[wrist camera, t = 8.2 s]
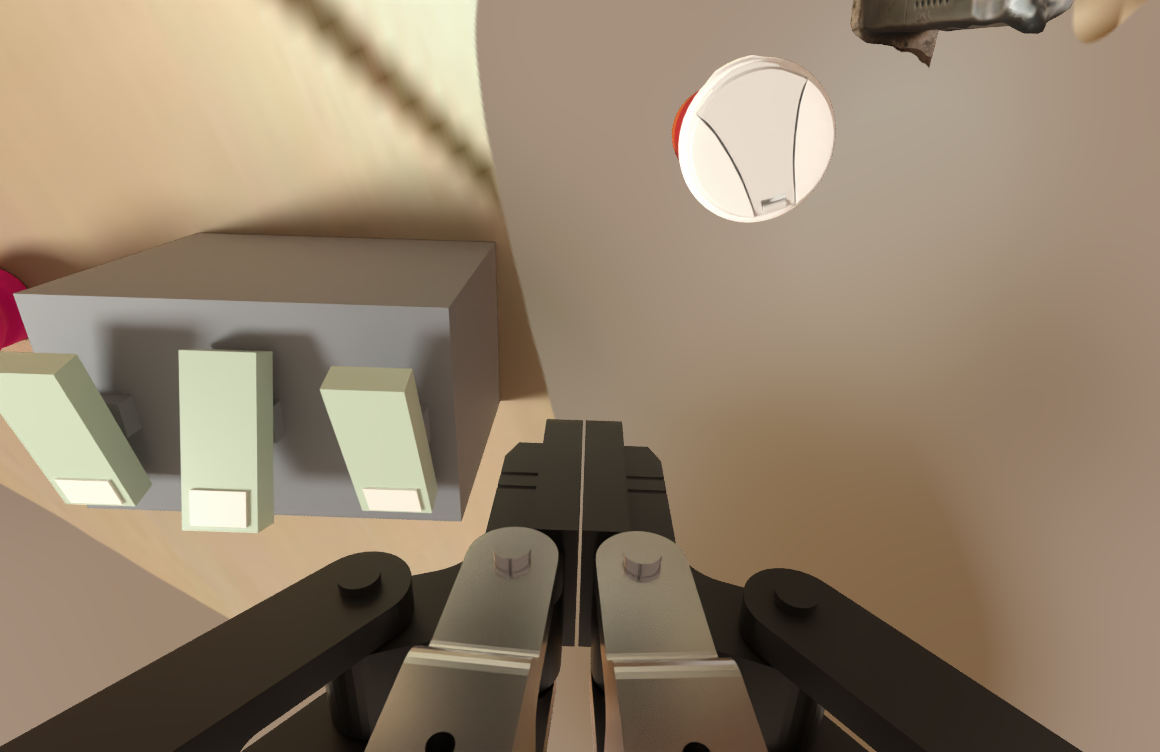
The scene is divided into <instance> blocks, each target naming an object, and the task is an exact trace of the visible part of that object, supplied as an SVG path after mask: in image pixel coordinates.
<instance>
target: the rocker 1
mask: <svg viewBox="0 0 1160 752" xmlns="http://www.w3.org/2000/svg"><path fill="white" fill-rule="evenodd" d="M0 413H1V415H2V416H3V418H4V419H5V420H6V422H7V423H8V425H9V426H10V427H11V429H12V430H13V431H14V433H15V434H16V436H17V437H18V438H19V440H20V441H21V442H22V444H23V445H24V447H25V448H26V449H27V451H28V452H29V453H30V455H31V456H32V458H33V459H34V460H35V462H36V463H37V464H38V466H39V467H40V469H41V470H42V471H43V473H44V474H45V476H46V477H47V478H48V480H49V481H50V482H51V484H52V485H53V487H54V488H55V489H56V491H57V492H58V493H59V495H60V496H61V498H62V499H63V500H64V502H65V503H66V504H80V505H108V506H135V507H136V506H137V504H138V503H139V502H140V500H141V499H142V498H143V496H144V495H145V494H146V492H147V491H148V490H149V488H150V487H151V486H152V485H153V484H152V482H151V481H150V479H149V477H148V476H147V474H146V472H145V470H144V469H143V467H142V465H141V463H140V462H139V460H138V458H137V457H136V455H135V453H134V451H133V450H132V448H131V446H130V445H129V443H128V441H127V439H126V438H125V436H124V434H123V433H122V431H121V429H120V427H119V426H118V424H117V422H116V420H115V419H114V417H113V415H112V414H111V412H110V410H109V408H108V407H107V405H106V403H105V402H104V400H103V398H102V396H101V395H100V393H99V391H98V390H97V388H96V386H95V384H94V383H93V381H92V379H91V377H90V376H89V374H88V372H87V371H86V369H85V367H84V365H83V364H82V362H81V360H80V359H79V357H78V355H77V354H61V353H31V352H1V351H0Z"/></svg>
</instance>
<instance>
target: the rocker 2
mask: <svg viewBox="0 0 1160 752" xmlns="http://www.w3.org/2000/svg"><path fill="white" fill-rule="evenodd" d="M178 351H179V401H180V450H181V500H182V530H190V531H217V532H244V533H259V532H260V531H262V530H263V529H265V528H266V527H268V526H270V525H271V524H273V523H274V477H273V351H251V350H221V349H187V350H178Z"/></svg>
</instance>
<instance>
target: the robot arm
mask: <svg viewBox="0 0 1160 752" xmlns="http://www.w3.org/2000/svg"><path fill="white" fill-rule="evenodd" d="M582 426H583V421H582V420H557V419H547V421H546V428H545V434H544V441H543V443H520V442H519V443H518V444H517V445H516V446H515V447H514V448H513V449H512V450H511V451H510V452H509V453H508V454H507V455H506V456H505V459H504V463H503V467H502V471H501V475H500V479H499V483H498V488H497V490H496V494H495V498H494V502H493V506H492V510H491V514H490V518H489V522H488V525H487V529H486V533H485V534H484V535H482V536H480V537H479V538H478V539H476V540H475V541H474V542H473V543H472V544H471V546H470V547H469V549H468V551H467V553H466V556H465V558H464V561H463V562H461V563H459V564H457V565H455V566H452V567H449V568H446V569H443V570H439V571H434V572H429V573H424V574H419V575H413V576H411V571H410V568H409V567H408V565H407V564H406V563H405V562H404V561H403V560H402V559H401V558H399V557H397V556H395V555H392V554H389V553H384V552H362V553H357V554H353V555H349V556H346V557H343V558H341V559H339V560H337V561H335V562H333V563H331V564H329V565H327V566H325V567H324V568H322V569H320V570H318V571H316V572H315V573H313V574H311V575H309V576H307V577H306V578H304V579H302V580H300V581H298V582H297V583H295V584H293V585H291V586H289V587H288V588H286V589H284V590H282V591H280V592H278V593H277V594H275V595H273V596H271V597H269V598H268V599H266V600H264V601H262V602H260V603H259V604H257V605H255V606H253V607H251V608H250V609H248V610H246V611H244V612H242V613H241V614H239V615H237V616H235V617H233V618H232V619H230V620H228V621H226V622H224V623H223V624H221V625H219V626H217V627H216V628H213V629H212V630H210V631H208V632H207V633H204V634H203V635H201V636H199V637H197V638H195V639H194V640H192V641H190V642H188V643H186V644H185V645H183V646H181V647H179V648H177V649H176V650H174V651H172V652H170V653H168V654H167V655H165V656H163V657H161V658H159V659H158V660H156V661H154V662H152V663H150V664H149V665H147V666H145V667H143V668H141V669H140V670H138V671H136V672H134V673H132V674H131V675H129V676H127V677H125V678H123V679H121V680H120V681H118V682H116V683H115V684H112V685H111V686H109V687H107V688H105V689H103V690H102V691H100V692H98V693H96V694H94V695H93V696H91V697H89V698H87V699H85V700H84V701H82V702H80V703H78V704H76V705H74V706H73V707H71V708H69V709H67V710H65V711H64V712H62V713H60V714H58V715H56V716H55V717H53V718H51V719H49V720H47V721H46V722H44V723H42V724H40V725H38V726H37V727H35V728H33V729H31V730H30V731H28V732H26V733H24V734H22V735H20V736H19V737H17V738H15V739H13V740H11V741H9V742H8V743H6V744H4V745H2V746H1V747H0V752H240V751H241V750H242V748H243V747H244V745H245V744H246V743H247V742H248V741H249V740H250V739H251V738H252V737H253V736H254V735H255V734H256V733H258V732H259V731H261V730H262V729H263V728H265V727H266V726H268V725H269V724H270V723H272V722H273V721H275V720H276V719H278V718H279V717H281V716H282V715H283V714H285V713H286V712H288V711H289V710H291V709H292V708H293V707H295V706H296V705H298V704H299V703H301V702H302V701H303V700H305V699H306V698H307V697H309V696H311V695H312V694H313V693H315V692H316V691H318V690H319V689H321V688H322V687H323V686H325V687H326V692H325V693H324V694H322V695H321V696H319V697H318V698H316V699H315V700H314V701H312V702H311V703H309V704H308V705H307V706H305V707H304V708H302V709H301V710H300V711H298V712H297V713H295V714H294V715H293V716H291V717H290V718H288V719H287V720H285V721H284V722H283V723H281V724H280V725H278V726H277V727H276V728H274V729H273V730H271V731H270V732H269V733H267V734H266V735H264V736H263V737H261V738H260V739H259V740H258V741H256V742H254V743H253V744H252V745H250V746H249V747H247V748H246V749H245V750H243V751H242V752H547V746H548V739H549V732H550V726H551V720H552V714H553V707H554V701H555V694H556V678H557V676H558V673H559V671H560V666H561V653H562V646H574V643H575V642H574V640H575V618H576V617H575V616H576V592H577V566H578V542H579V515H580V489H581V457H582V428H583V427H582ZM622 430H623V429H622V422H614V421H587V420H586V435H585V463H584V464H585V465H584V493H583V522H582V553H581V584H580V585H581V586H580V614H579V646H582V647H583V646H584V647H591V669H590V670H591V671H590V706H591V719H592V733H593V745H594V752H868V751H867V750H866V749H865V748H863V747H862V746H861V745H860V744H859V743H858V742H856V741H855V740H854V739H853V738H851V737H850V736H849V735H848V734H847V733H846V732H844V731H843V730H842V729H841V728H840V727H838V726H837V725H836V724H835V723H833V722H832V721H831V720H830V719H829V718H827V717H826V716H825V715H824V710H825V709H826V710H827V711H828V712H829V713H830V714H832V715H833V716H834V717H836V718H837V719H838V720H839V721H840V722H842V723H843V724H844V725H845V726H846V727H848V728H849V729H850V730H851V731H852V732H854V733H855V734H856V735H857V736H858V737H860V738H861V739H862V740H863V741H865V742H866V743H867V744H868V745H869V746H871V747H872V748H873V749H874V750H875V751H877V752H1082V751H1081V750H1079V749H1078V748H1076V747H1075V746H1073V745H1072V744H1070V743H1069V742H1067V741H1065V740H1064V739H1063V738H1061V737H1059V736H1058V735H1056V734H1055V733H1053V732H1052V731H1050V730H1049V729H1047V728H1046V727H1044V726H1043V725H1041V724H1040V723H1038V722H1037V721H1035V720H1034V719H1032V718H1030V717H1029V716H1027V715H1026V714H1024V713H1023V712H1021V711H1020V710H1018V709H1017V708H1015V707H1014V706H1012V705H1011V704H1009V703H1008V702H1006V701H1005V700H1003V699H1001V698H1000V697H998V696H997V695H995V694H994V693H992V692H991V691H989V690H988V689H986V688H985V687H983V686H982V685H980V684H979V683H977V682H976V681H974V680H972V679H971V678H969V677H968V676H966V675H965V674H963V673H962V672H960V671H959V670H957V669H956V668H954V667H953V666H951V665H949V664H948V663H947V662H945V661H943V660H942V659H940V658H939V657H937V656H936V655H934V654H932V653H931V652H930V651H928V650H927V649H925V648H924V647H922V646H921V645H919V644H918V643H916V642H914V641H913V640H911V639H910V638H908V637H907V636H905V635H904V634H902V633H901V632H899V631H898V630H896V629H895V628H893V627H892V626H890V625H889V624H887V623H885V622H884V621H882V620H881V619H879V618H878V617H876V616H875V615H873V614H872V613H870V612H869V611H867V610H866V609H864V608H863V607H861V606H860V605H858V604H856V603H855V602H853V601H852V600H850V599H849V598H847V597H846V596H844V595H843V594H841V593H839V592H838V591H837V590H835V589H833V588H832V587H831V586H829V585H827V584H826V583H824V582H823V581H821V580H819V579H818V578H816V577H814V576H811V575H809V574H806V573H803V572H800V571H796V570H792V569H784V568H774V569H766V570H763V571H760V572H758V573H756V574H754V575H753V576H752V577H750V578H749V580H748V581H747V582H746V584H745V587H744V588H743V587H739V586H736V585H732V584H729V583H725V582H721V581H718V580H715V579H712V578H710V577H708V576H705V575H703V574H702V573H700V572H698V571H696V570H695V569H694V568H692V567H691V566H690V565H689V563H688V560H687V557H686V555H685V554H684V552H683V551H682V549H681V548H680V547H679V546H678V545H677V544H676V542H675V537H674V532H673V526H672V520H671V515H670V509H669V504H668V499H667V494H666V487H665V481H664V476H663V470H662V465H661V461H660V460H659V459H658V458H657V457H656V455H655V454H654V453H653V452H652V451H651V450H650V449H649V448H648V447H635V446H624V441H623V431H622Z"/></svg>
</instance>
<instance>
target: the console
mask: <svg viewBox="0 0 1160 752" xmlns="http://www.w3.org/2000/svg"><path fill="white" fill-rule="evenodd" d="M13 295H14V298H15V301H16V303H17V306H18V309H19V312H20V315H21V318H22V321H23V324H24V326H25V329H26V332H27V335H28V338H29V341H30V344H31V347H32V349H33V352H34V353H61V354H77V355H78V357H79V359H80V360H81V362H82V364H83V365H84V367H85V369H86V371H87V372H88V374H89V376H90V377H91V379H92V381H93V383H94V384H95V386H96V388H97V390H98V391H99V393H100V395H101V396H102V398H103V400H104V402H105V403H106V405H107V407H108V408H109V410H110V412H111V414H112V415H113V417H114V419H115V420H116V422H117V424H118V426H119V427H120V429H121V431H122V433H123V434H124V436H125V438H126V439H127V441H128V443H129V445H130V446H131V448H132V450H133V451H134V453H135V455H136V457H137V458H138V460H139V462H140V463H141V465H142V467H143V469H144V470H145V472H146V474H147V476H148V477H149V479H150V481H151V482H152V484H153V485H152V486H151V487H150V488H149V490H148V491H147V492H146V494H145V495H144V496H143V498H142V499H141V500H140V502H139V503H138V504H137V506H136V507H135V506H108V505H87V507H88V508H103V509H130V510H158V511H182V500H181V450H180V401H179V351H178V350H187V349H221V350H251V351H273V477H274V515H296V516H323V517H351V518H379V519H406V520H434V521H462V518H463V515H464V512H465V509H466V505H467V502H468V499H469V496H470V493H471V490H472V487H473V484H474V481H475V477H476V474H477V471H478V468H479V465H480V462H481V459H482V456H483V452H484V449H485V446H486V443H487V440H488V437H489V434H490V431H491V427H492V424H493V421H494V418H495V415H496V412H497V409H498V406H499V403H500V388H499V351H498V315H497V279H496V243H495V242H473V241H442V240H410V239H378V238H346V237H315V236H283V235H251V234H219V233H196V234H193V235H190V236H187V237H184V238H181V239H178V240H175V241H172V242H169V243H166V244H163V245H160V246H156V247H153V248H150V249H147V250H144V251H141V252H138V253H135V254H132V255H129V256H126V257H123V258H120V259H117V260H114V261H111V262H108V263H105V264H102V265H99V266H96V267H93V268H90V269H87V270H83V271H80V272H77V273H74V274H71V275H68V276H65V277H62V278H59V279H56V280H53V281H50V282H47V283H44V284H41V285H38V286H35V287H32V288H29V289H26V290H23V291H20V292H17V293H14V294H13ZM331 366H349V367H379V368H409V369H413V374H414V379H415V383H416V388H417V393H418V397H419V402H420V407H421V412H422V416H423V421H424V426H425V430H426V435H427V440H428V445H429V449H430V454H431V459H432V463H433V468H434V473H435V477H436V482H437V487H438V492H437V496H436V500H435V504H434V508H433V512H432V513H413V512H386V511H362V508H361V505H360V502H359V500H358V497H357V494H356V491H355V488H354V485H353V483H352V480H351V477H350V474H349V471H348V469H347V466H346V463H345V460H344V457H343V454H342V452H341V449H340V446H339V443H338V440H337V437H336V435H335V432H334V429H333V426H332V423H331V420H330V418H329V415H328V412H327V409H326V406H325V403H324V401H323V398H322V395H321V392H320V387H321V385H322V383H323V381H324V379H325V377H326V375H327V373H328V371H329V369H330V367H331Z"/></svg>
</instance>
